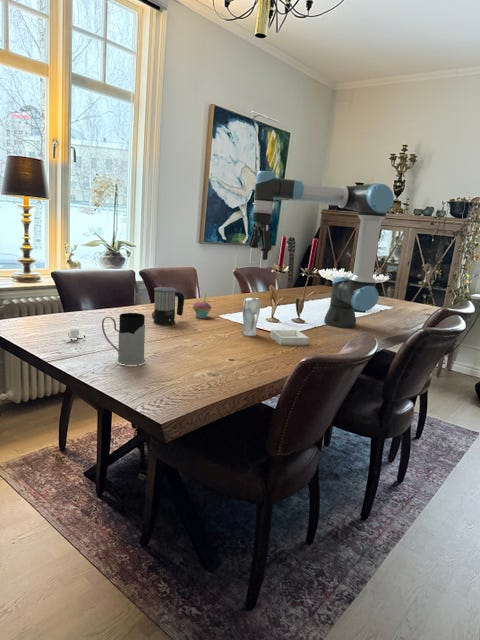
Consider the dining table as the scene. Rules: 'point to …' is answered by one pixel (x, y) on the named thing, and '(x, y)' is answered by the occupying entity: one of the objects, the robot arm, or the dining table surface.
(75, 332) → the teacup and saucer
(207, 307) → the cupcake
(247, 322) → the beer glass
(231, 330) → the dining table surface
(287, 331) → the cup holder
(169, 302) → the milk frother
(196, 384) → the dining table surface
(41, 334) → the dining table surface
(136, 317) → the glass holder
